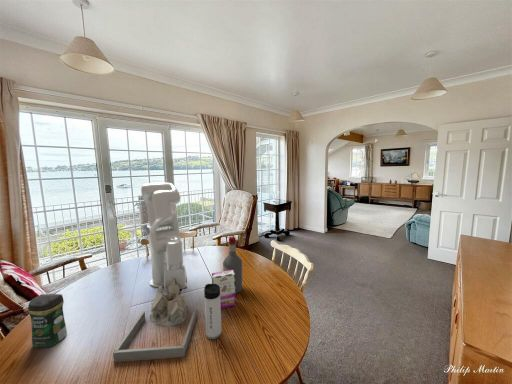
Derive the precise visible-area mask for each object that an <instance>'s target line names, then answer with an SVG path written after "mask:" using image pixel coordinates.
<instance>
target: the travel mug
mask: <svg viewBox="0 0 512 384" xmlns="http://www.w3.org/2000/svg"><path fill="white" fill-rule="evenodd" d="M203 289H204V291H203V292H204V294H203V295H204V296H203V298H204V320H205V321H204V322H205V323H204V324H205V336H206V338H207V339H208V340H215V339H218V338H219V337H220V336H221V335H222V317H221V316H222V312H221V311H222V308H221V302H220V287H219V285H217V284H212V283H206V284H205V285H204V288H203Z"/></svg>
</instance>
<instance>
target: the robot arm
mask: <svg viewBox="0 0 512 384" xmlns="http://www.w3.org/2000/svg"><path fill="white" fill-rule="evenodd" d="M140 190H141V191H140V192H141V196H142V198H143V201H144V203H145V206H146V207H147V208H146V210H147V217H148V218H147V219H148V224H149V226H150V230H149V233H148V237H147V239H148V244H149V247H150V248H149V249H150V260H151V263H150V264H151V275H152V278H151V279H150V281H149V285H150V287H153V288H155V287H156V288H159V287H160V286H162V287H164V290H165V291H168V286H170V285H171V282H173V280H175V283H176V285H177V284H179V289H180V294H179V295H180V296H181V292H182V291H184V290H187V289H188V277H187V271H186V267H185V265H184V254H183V241H182V240H181V234H180V233H181V232H180V226H179V219H178V216H177V213H176V212H175V211H173V210H172V206H171V205H177V204H179V203H180V202H181V195H180V191H178V189H177V187H176V186H175V185H174V184H173V183H172V182H149V183H144V184H143V185H142V186H141V189H140ZM167 227H169V228H167ZM160 228H161V229H160ZM162 228H164V229H162ZM165 228H166V229H165ZM157 229H158V230H157Z"/></svg>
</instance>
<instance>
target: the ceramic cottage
mask: <svg viewBox="0 0 512 384" xmlns="http://www.w3.org/2000/svg"><path fill="white" fill-rule="evenodd" d="M157 288H158V291H157V294H156V296H155V297H154V299H153V301H152V302H151V303H150V305H151V310H150V312H149V313H150V314H149V320H150V322H152V323H155V324H158V325H162V326H165V327H174V326H177V325H179V324H183V323H184V322H185V320H186V319H187V316H188V315H187V314H188V309H187V306H186V302H185V297H184V296H182V295H181V292H180V289H179V284H177V285H176V283H175V280H173V282H171V285H170V286H168V290H167V294H165V293H164V290H163V286H160V287H157ZM179 294H180V295H179Z"/></svg>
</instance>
